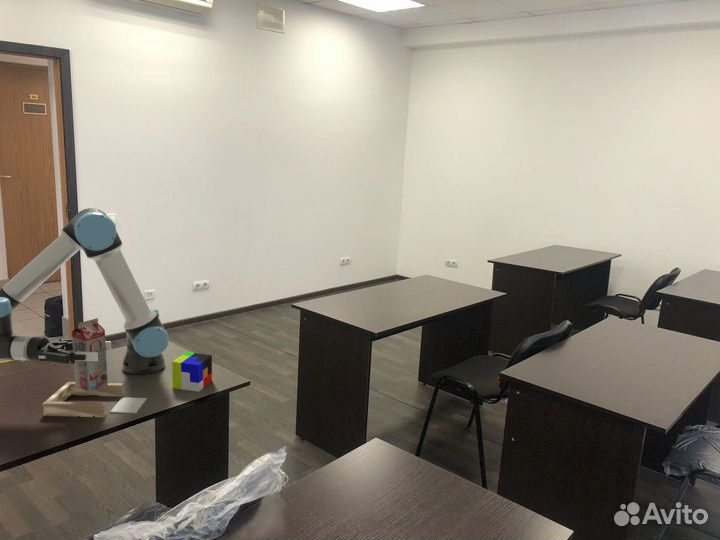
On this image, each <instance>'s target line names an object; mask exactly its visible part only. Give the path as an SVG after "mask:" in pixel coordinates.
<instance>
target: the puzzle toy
mask: <svg viewBox="0 0 720 540" xmlns="http://www.w3.org/2000/svg"><path fill="white" fill-rule="evenodd" d="M171 362H172V364H171V366H172V373H171V374H172V389H179V390H183V391H190V390H191V391H192V392H197V393H199V392H200V391H202V390H203V389H204V388H205V387H206V386H207V385H209V384H210V383H211V382H212V381H213V355H212V354H205V353H197V352H191V351H190V352H189V351H185V352H184V353H183V354H182V355H180V356H179V357H177V358H175V359H173V361H171ZM208 383H209V384H208Z"/></svg>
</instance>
